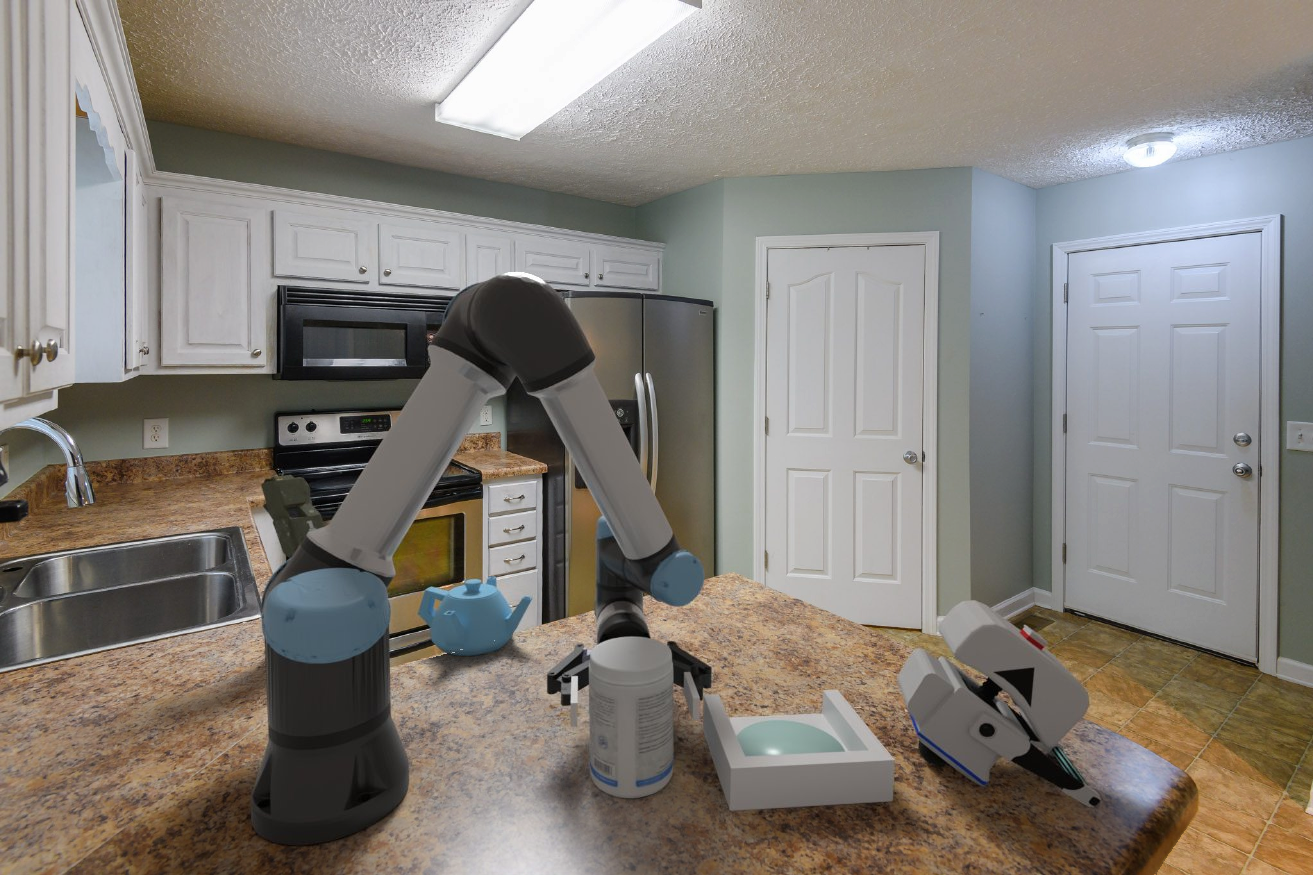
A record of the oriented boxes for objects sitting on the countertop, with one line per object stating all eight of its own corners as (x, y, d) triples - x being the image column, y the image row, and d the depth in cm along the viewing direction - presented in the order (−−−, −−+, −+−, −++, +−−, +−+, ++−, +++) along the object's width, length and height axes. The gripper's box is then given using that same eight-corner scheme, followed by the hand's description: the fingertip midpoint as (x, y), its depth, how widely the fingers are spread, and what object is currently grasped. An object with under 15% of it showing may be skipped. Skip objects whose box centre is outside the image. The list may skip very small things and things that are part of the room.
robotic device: (1037, 864, 71) (1168, 736, 68) (876, 738, 74) (994, 607, 70) (1006, 804, 81) (1118, 689, 78) (865, 695, 84) (968, 579, 80)
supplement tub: (670, 751, 79) (672, 635, 78) (675, 802, 69) (678, 670, 68) (591, 752, 79) (592, 634, 77) (585, 803, 69) (585, 670, 68)
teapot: (498, 619, 122) (497, 563, 121) (535, 645, 110) (534, 583, 109) (415, 637, 112) (414, 577, 112) (446, 668, 101) (445, 601, 100)
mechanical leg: (355, 650, 105) (325, 467, 106) (311, 666, 99) (279, 472, 100) (310, 650, 112) (282, 479, 113) (266, 665, 106) (237, 485, 107)
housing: (729, 810, 68) (731, 768, 68) (702, 729, 84) (703, 694, 84) (892, 801, 70) (894, 759, 70) (836, 723, 86) (837, 689, 86)
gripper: (708, 659, 94) (744, 739, 73) (534, 665, 92) (521, 750, 71) (709, 609, 94) (746, 675, 73) (535, 613, 91) (521, 683, 70)
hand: (635, 712), depth 72 cm, fingers open, 13 cm apart
